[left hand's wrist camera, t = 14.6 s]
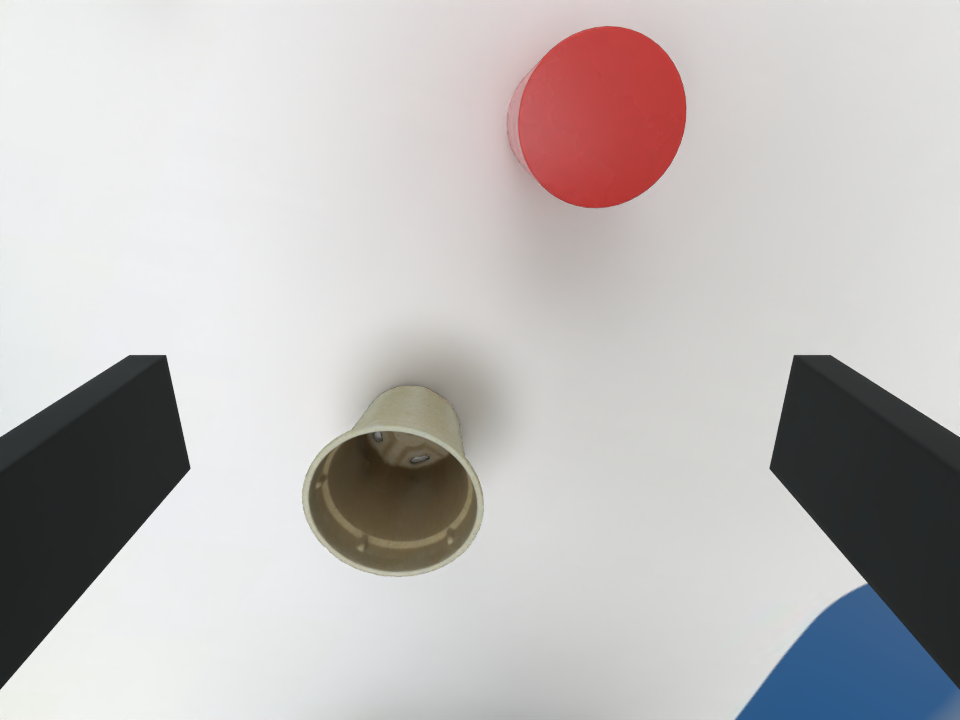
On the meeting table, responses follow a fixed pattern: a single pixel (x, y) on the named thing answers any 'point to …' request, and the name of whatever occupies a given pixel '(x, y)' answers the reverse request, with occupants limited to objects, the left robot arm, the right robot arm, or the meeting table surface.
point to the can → (599, 117)
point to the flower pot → (396, 488)
